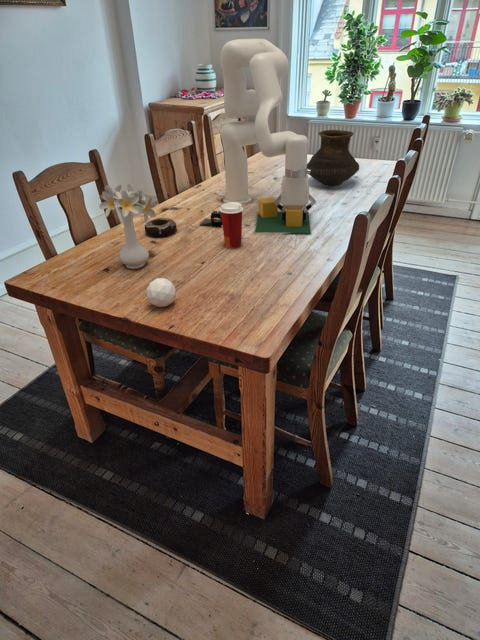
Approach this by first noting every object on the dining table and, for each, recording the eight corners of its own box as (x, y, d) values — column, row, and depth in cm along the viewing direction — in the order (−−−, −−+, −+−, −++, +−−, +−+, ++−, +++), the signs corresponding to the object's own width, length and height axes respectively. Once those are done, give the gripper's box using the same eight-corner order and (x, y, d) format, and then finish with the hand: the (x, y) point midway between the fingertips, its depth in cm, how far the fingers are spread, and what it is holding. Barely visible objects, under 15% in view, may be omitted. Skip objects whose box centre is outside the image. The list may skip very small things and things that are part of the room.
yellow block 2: (285, 226, 164) (286, 210, 160) (285, 220, 169) (286, 205, 165) (302, 226, 163) (302, 210, 160) (301, 220, 168) (302, 205, 165)
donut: (139, 236, 162) (137, 226, 159) (155, 225, 171) (153, 215, 168) (167, 240, 158) (166, 229, 156) (182, 228, 167) (181, 217, 165)
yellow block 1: (262, 218, 171) (262, 203, 168) (258, 213, 176) (258, 198, 173) (277, 216, 173) (277, 201, 169) (272, 211, 177) (272, 196, 174)
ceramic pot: (366, 181, 209) (373, 131, 197) (340, 194, 194) (345, 140, 182) (322, 173, 223) (326, 125, 211) (294, 185, 208) (296, 134, 196)
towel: (254, 234, 160) (254, 232, 160) (258, 212, 178) (258, 211, 178) (310, 234, 158) (310, 232, 158) (308, 213, 177) (308, 211, 176)
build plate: (235, 221, 171) (235, 210, 169) (230, 228, 165) (229, 216, 163) (205, 219, 174) (204, 207, 172) (199, 226, 168) (198, 214, 166)
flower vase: (155, 276, 135) (143, 195, 121) (102, 270, 139) (84, 191, 125) (172, 258, 145) (163, 182, 131) (122, 253, 149) (107, 179, 136)
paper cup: (247, 241, 154) (246, 202, 147) (239, 250, 148) (238, 210, 141) (226, 239, 157) (224, 200, 149) (218, 248, 151) (215, 208, 143)
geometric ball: (157, 315, 121) (135, 297, 117) (169, 293, 125) (148, 275, 121) (174, 310, 116) (152, 291, 112) (186, 287, 120) (165, 268, 116)
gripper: (319, 170, 158) (316, 218, 168) (271, 170, 160) (271, 218, 169) (321, 175, 152) (317, 225, 162) (270, 176, 153) (270, 225, 163)
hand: (293, 221), depth 165 cm, fingers closed on yellow block 2, 6 cm apart
